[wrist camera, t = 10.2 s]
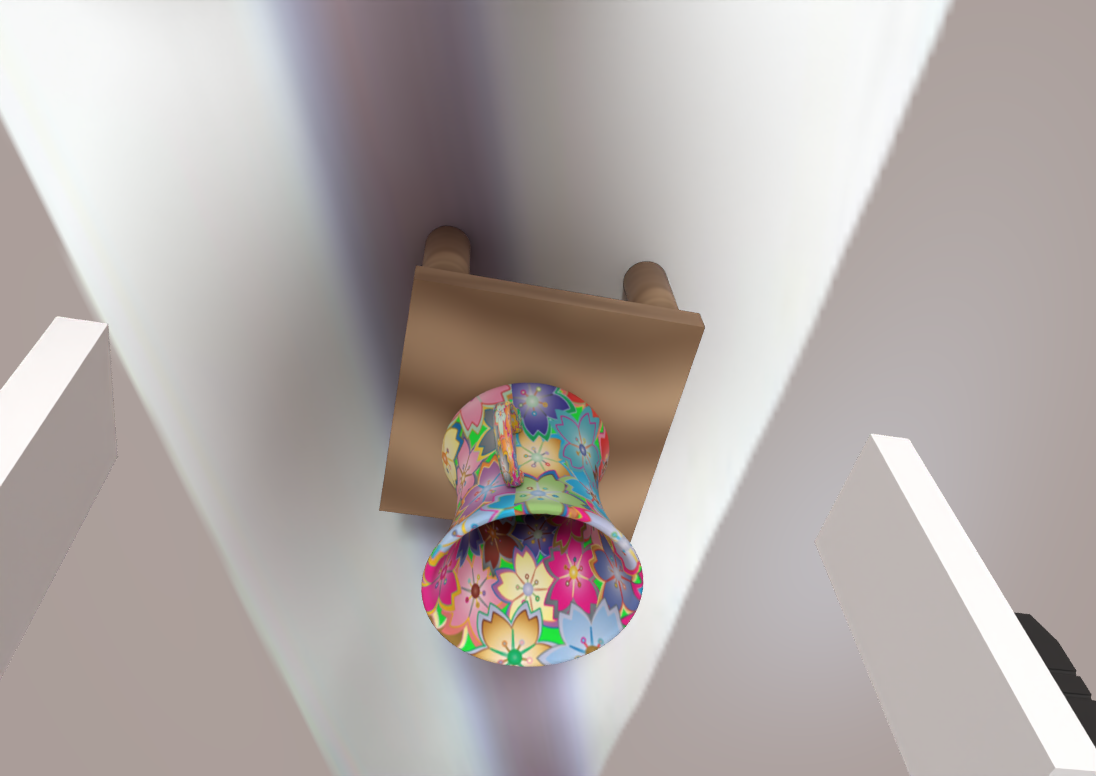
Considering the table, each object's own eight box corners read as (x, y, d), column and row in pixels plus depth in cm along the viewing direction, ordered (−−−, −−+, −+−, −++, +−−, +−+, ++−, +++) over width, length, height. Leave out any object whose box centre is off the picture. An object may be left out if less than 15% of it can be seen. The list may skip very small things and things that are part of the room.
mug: (624, 497, 49) (653, 651, 40) (455, 523, 50) (447, 681, 41) (596, 303, 43) (624, 436, 34) (402, 334, 43) (379, 474, 34)
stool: (423, 216, 48) (413, 278, 42) (678, 261, 50) (704, 327, 44) (391, 430, 55) (379, 510, 49) (615, 461, 57) (630, 542, 51)
